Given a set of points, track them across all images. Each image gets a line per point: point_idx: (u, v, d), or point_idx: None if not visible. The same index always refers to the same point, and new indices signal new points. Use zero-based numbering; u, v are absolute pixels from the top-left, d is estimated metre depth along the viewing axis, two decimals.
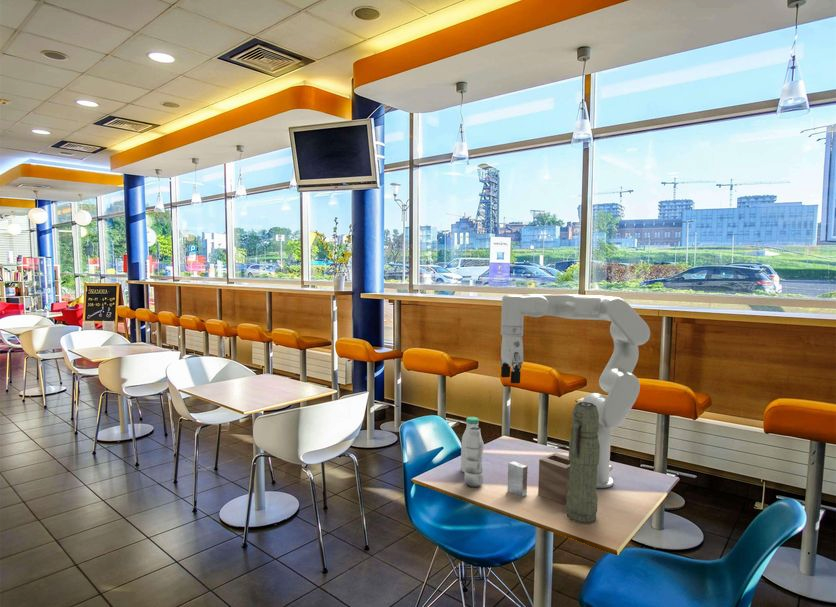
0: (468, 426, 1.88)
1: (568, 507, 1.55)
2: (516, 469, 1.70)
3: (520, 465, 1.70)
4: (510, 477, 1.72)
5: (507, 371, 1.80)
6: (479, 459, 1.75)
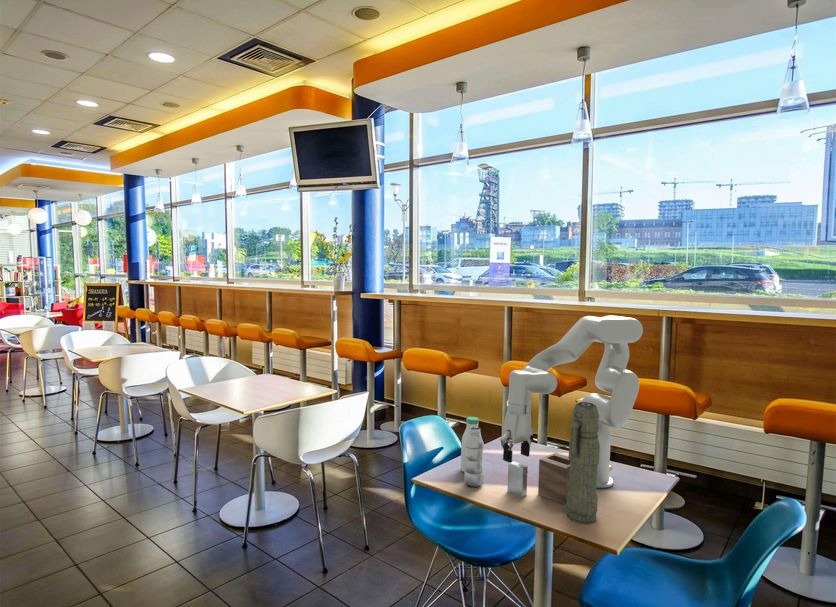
0: (468, 426, 1.88)
1: (568, 507, 1.55)
2: (516, 469, 1.70)
3: (520, 465, 1.70)
4: (510, 477, 1.72)
5: None
6: (479, 459, 1.75)
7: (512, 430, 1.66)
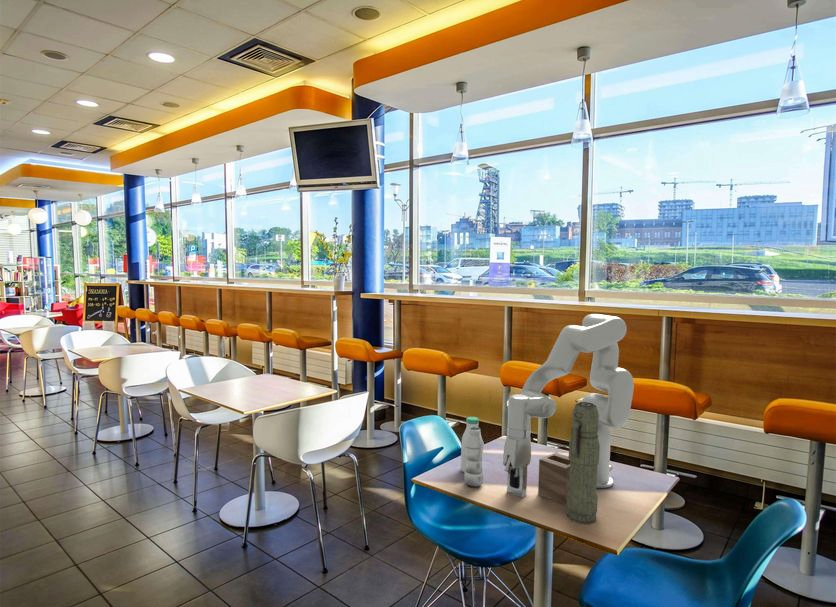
0: (468, 426, 1.88)
1: (568, 507, 1.55)
2: None
3: None
4: None
5: None
6: (479, 459, 1.75)
7: (512, 455, 1.66)
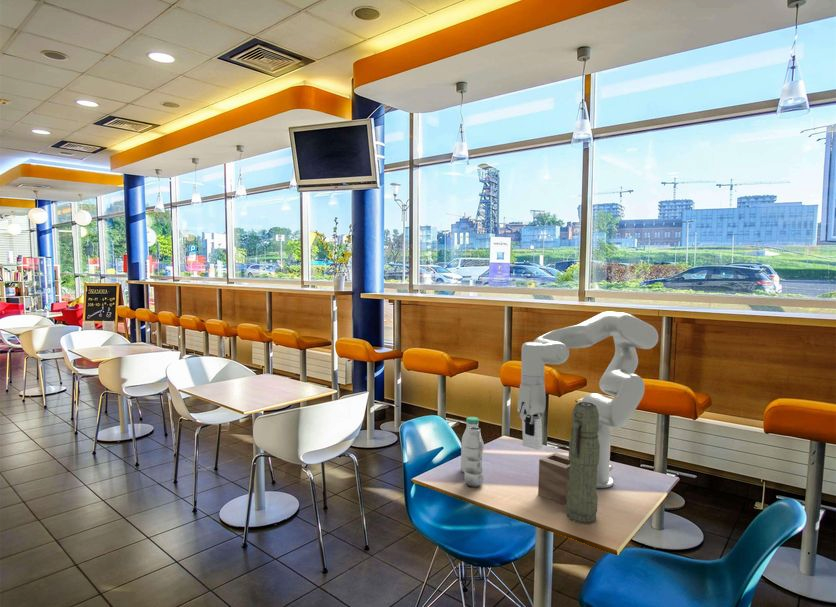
0: (468, 426, 1.88)
1: (568, 507, 1.55)
2: None
3: (534, 417, 1.69)
4: None
5: None
6: (479, 459, 1.75)
7: (526, 402, 1.65)
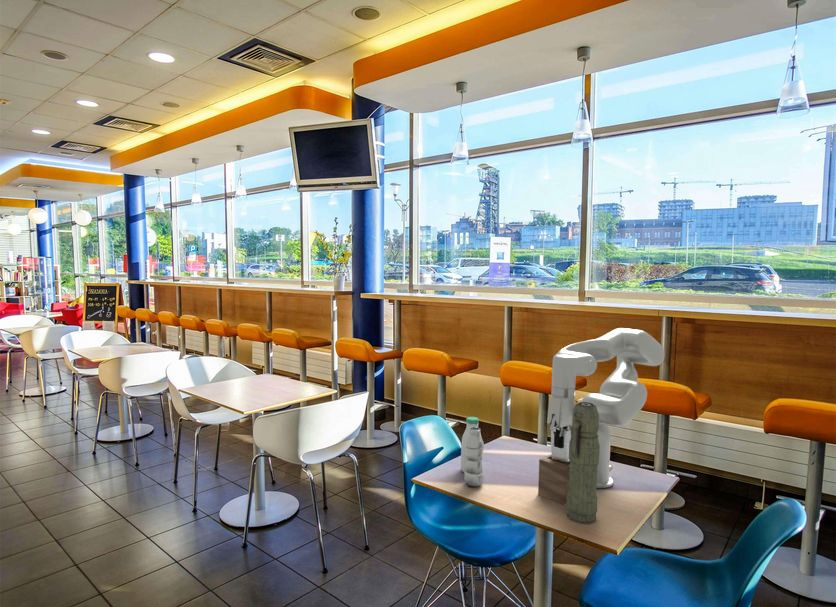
0: (468, 426, 1.88)
1: (568, 507, 1.55)
2: None
3: (563, 429, 1.69)
4: (553, 443, 1.70)
5: None
6: (479, 459, 1.75)
7: (557, 414, 1.65)
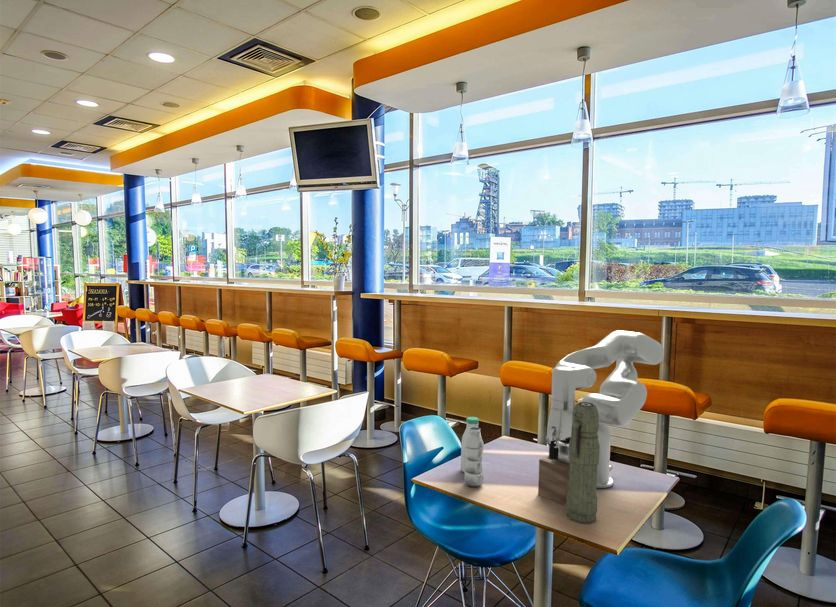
0: (468, 426, 1.88)
1: (568, 507, 1.55)
2: (562, 449, 1.68)
3: (566, 445, 1.69)
4: None
5: None
6: (479, 459, 1.75)
7: (557, 427, 1.65)
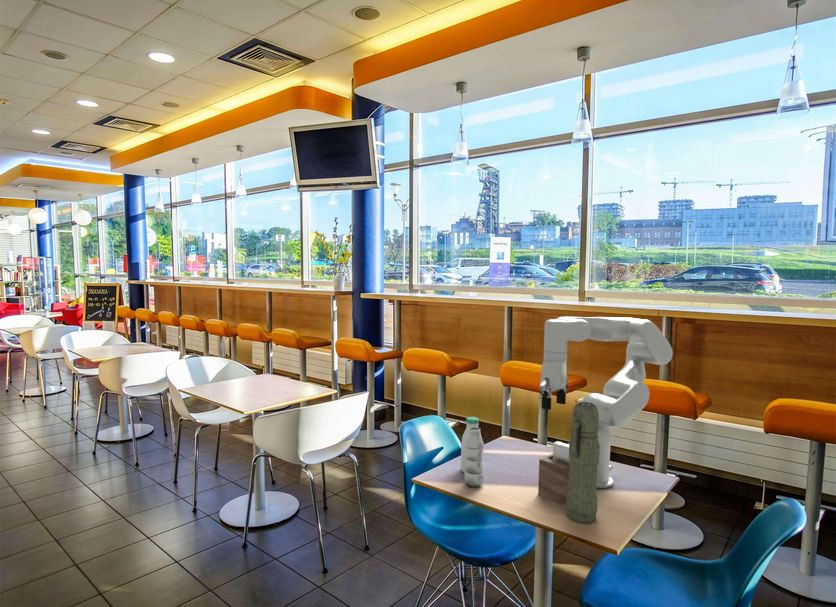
0: (468, 426, 1.88)
1: (568, 507, 1.55)
2: (562, 449, 1.68)
3: (566, 445, 1.69)
4: (555, 457, 1.70)
5: None
6: (479, 459, 1.75)
7: (550, 378, 1.67)
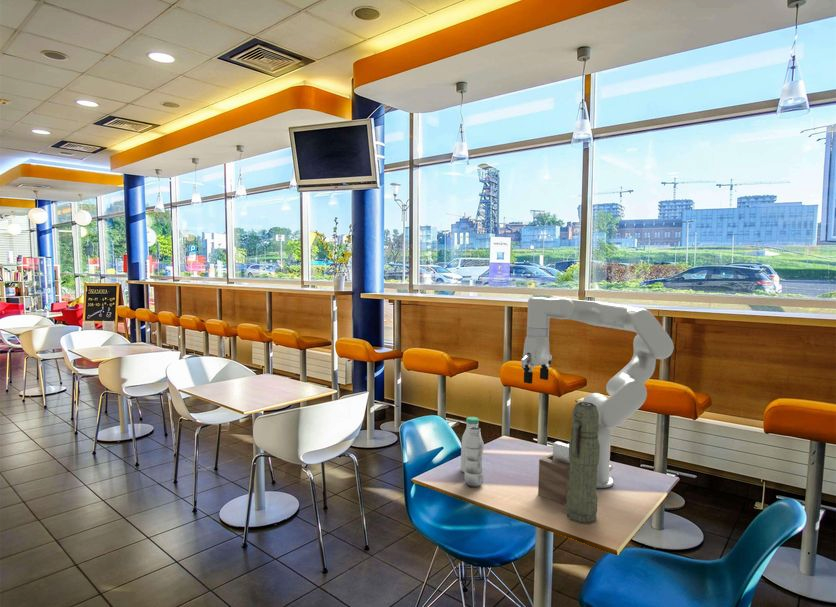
0: (468, 426, 1.88)
1: (568, 507, 1.55)
2: (562, 449, 1.68)
3: (566, 445, 1.69)
4: (555, 457, 1.70)
5: None
6: (479, 459, 1.75)
7: (532, 352, 1.74)
